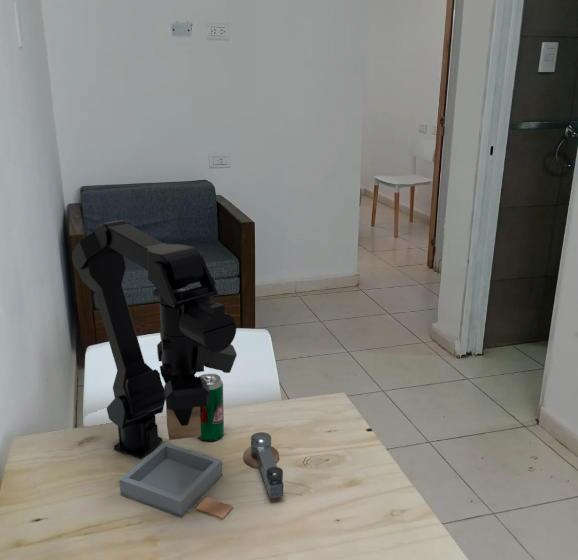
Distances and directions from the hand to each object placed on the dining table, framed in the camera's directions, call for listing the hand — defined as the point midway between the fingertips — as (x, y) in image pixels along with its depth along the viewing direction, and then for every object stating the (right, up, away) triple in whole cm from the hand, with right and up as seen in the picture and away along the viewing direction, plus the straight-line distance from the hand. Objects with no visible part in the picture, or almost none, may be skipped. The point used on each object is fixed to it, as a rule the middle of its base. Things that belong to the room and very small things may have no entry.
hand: (183, 417), depth 100 cm
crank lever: (+13, -11, +6) cm, 18 cm away
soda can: (+2, -8, +18) cm, 20 cm away
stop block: (0, -2, +1) cm, 2 cm away
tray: (-2, -12, +4) cm, 13 cm away
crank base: (+9, -12, +6) cm, 16 cm away
